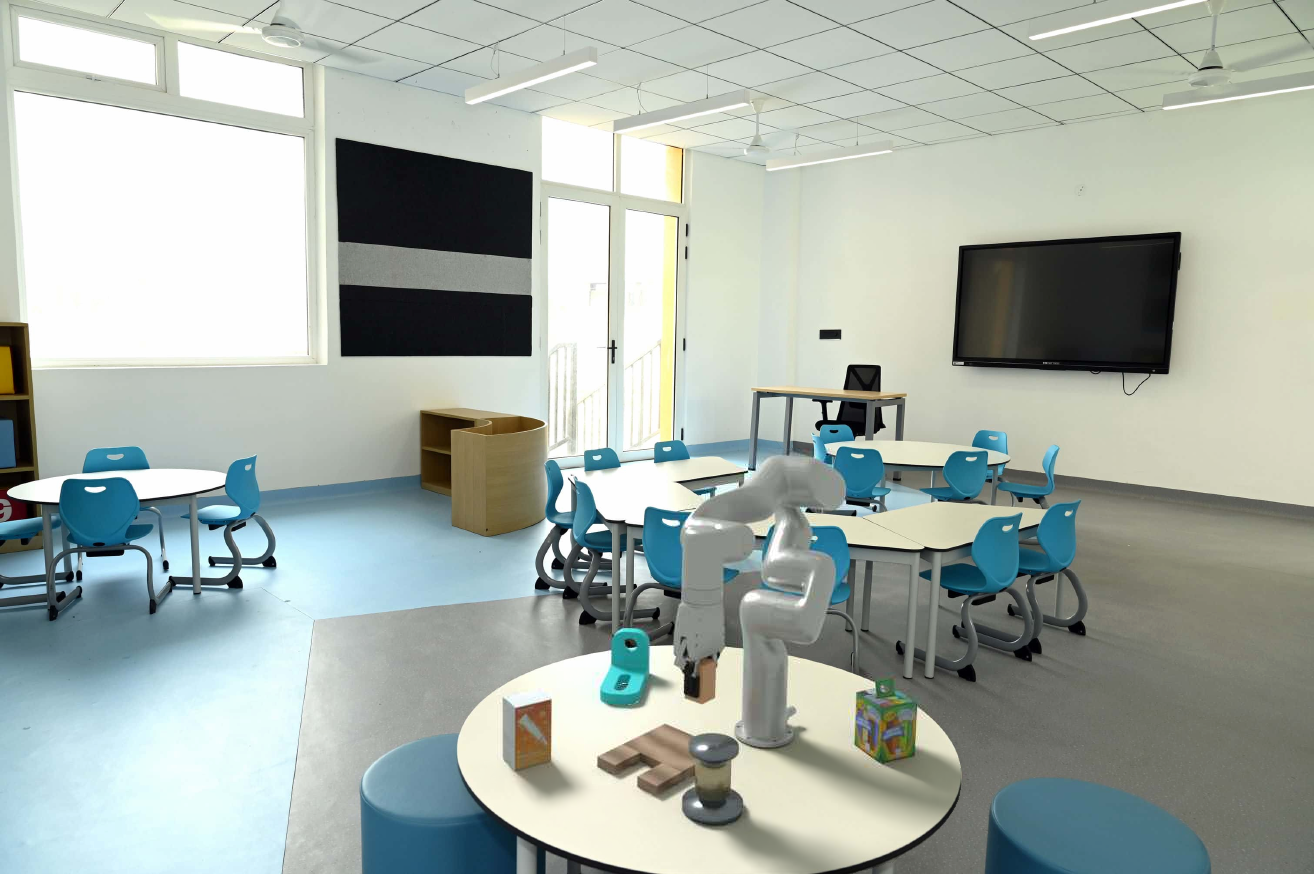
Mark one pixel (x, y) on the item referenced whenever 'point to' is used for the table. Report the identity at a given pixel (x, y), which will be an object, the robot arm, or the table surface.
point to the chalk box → (885, 722)
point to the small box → (527, 728)
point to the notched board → (654, 758)
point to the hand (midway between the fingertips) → (699, 691)
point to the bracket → (626, 668)
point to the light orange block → (705, 681)
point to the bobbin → (713, 781)
